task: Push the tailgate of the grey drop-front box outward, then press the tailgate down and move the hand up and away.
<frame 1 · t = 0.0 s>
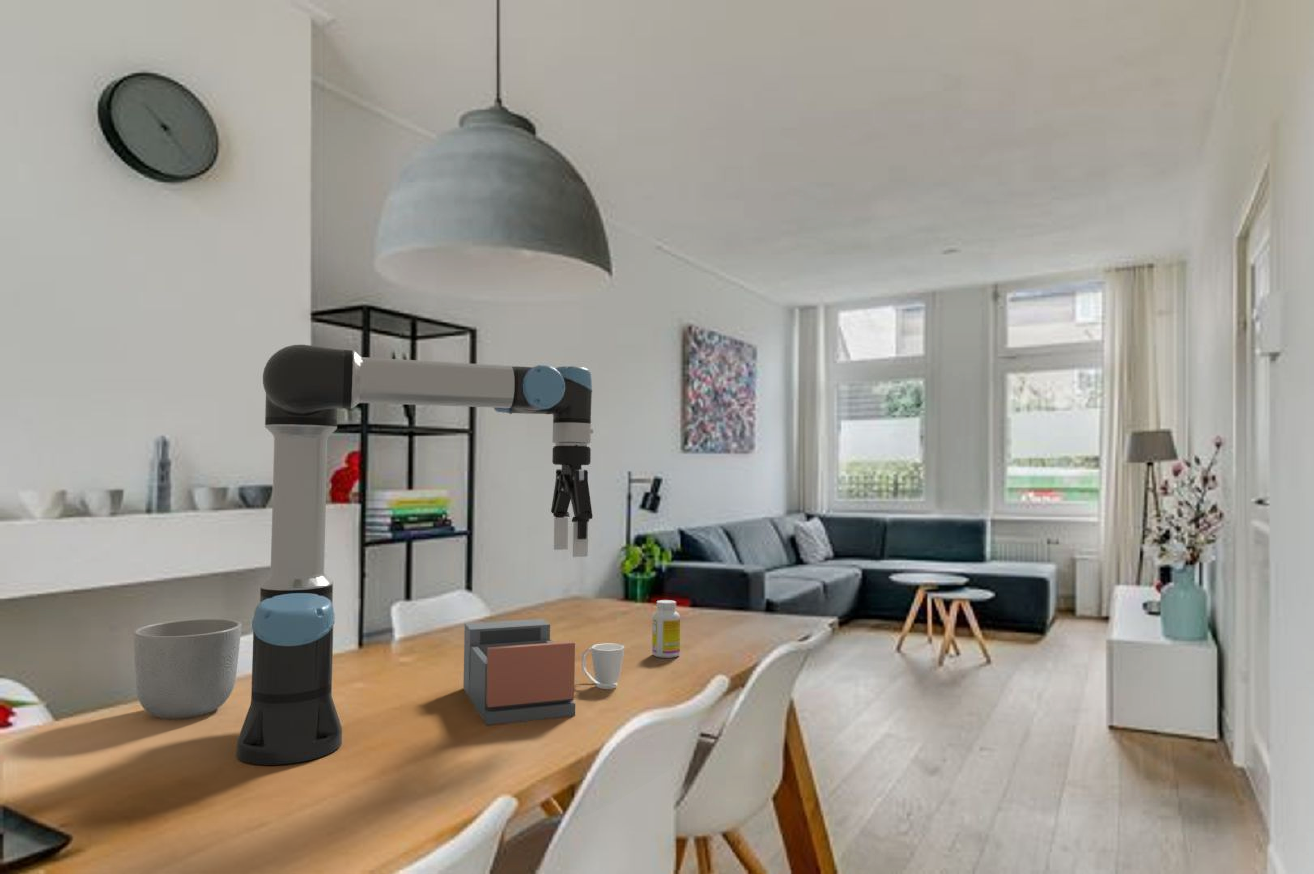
hand: (570, 552, 160), 28 cm above the table, fingers open, 13 cm apart
supplement bottle: (665, 656, 195), on the table
tailgate: (531, 674, 145), point 8 cm above the table, hinge at 0.0°
grey drop-front box: (529, 716, 146), on the table
planter: (186, 713, 146), on the table
grey box shell: (506, 688, 164), on the table
cup: (601, 685, 168), on the table
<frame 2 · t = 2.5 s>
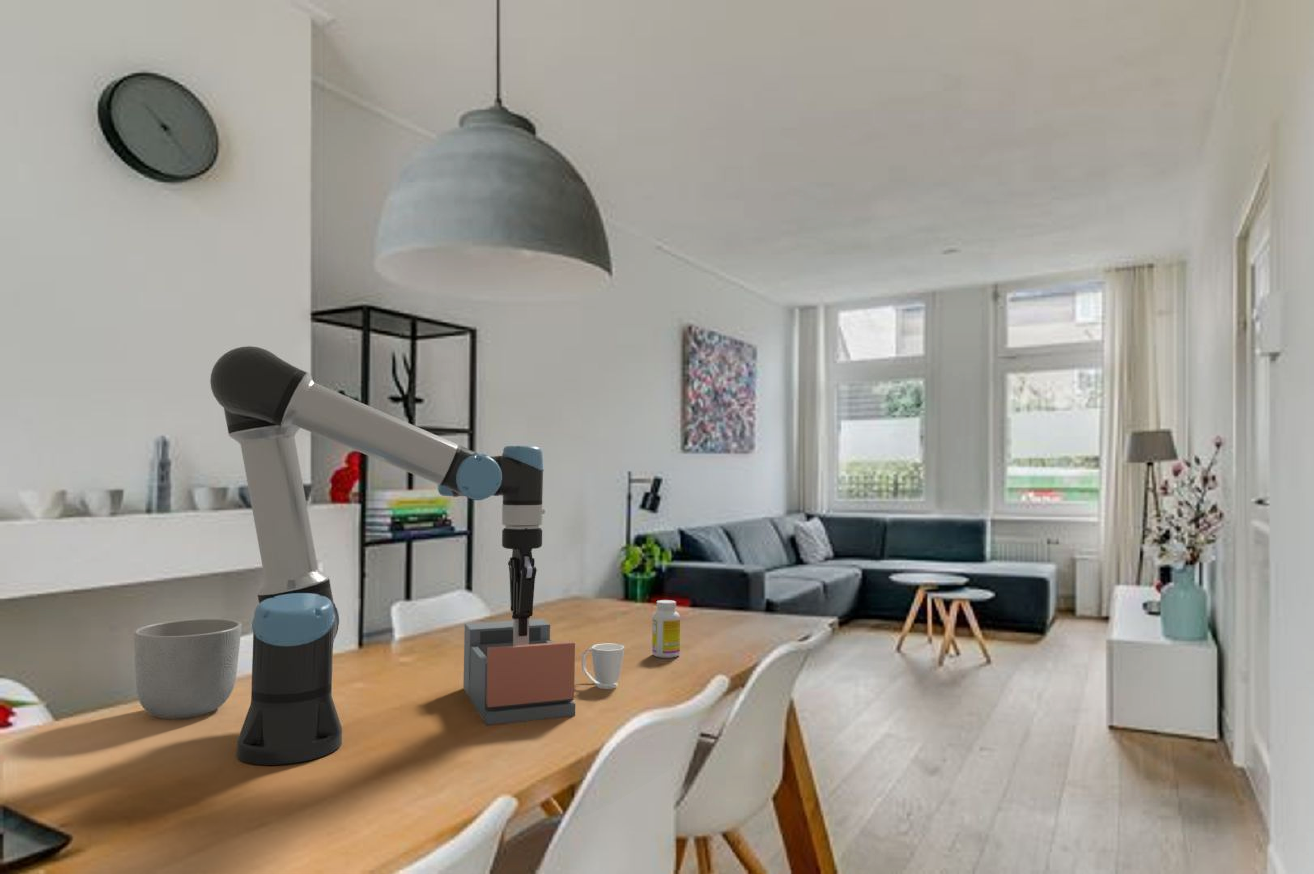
hand: (520, 651, 154), 10 cm above the table, fingers closed
nothing on the table moved.
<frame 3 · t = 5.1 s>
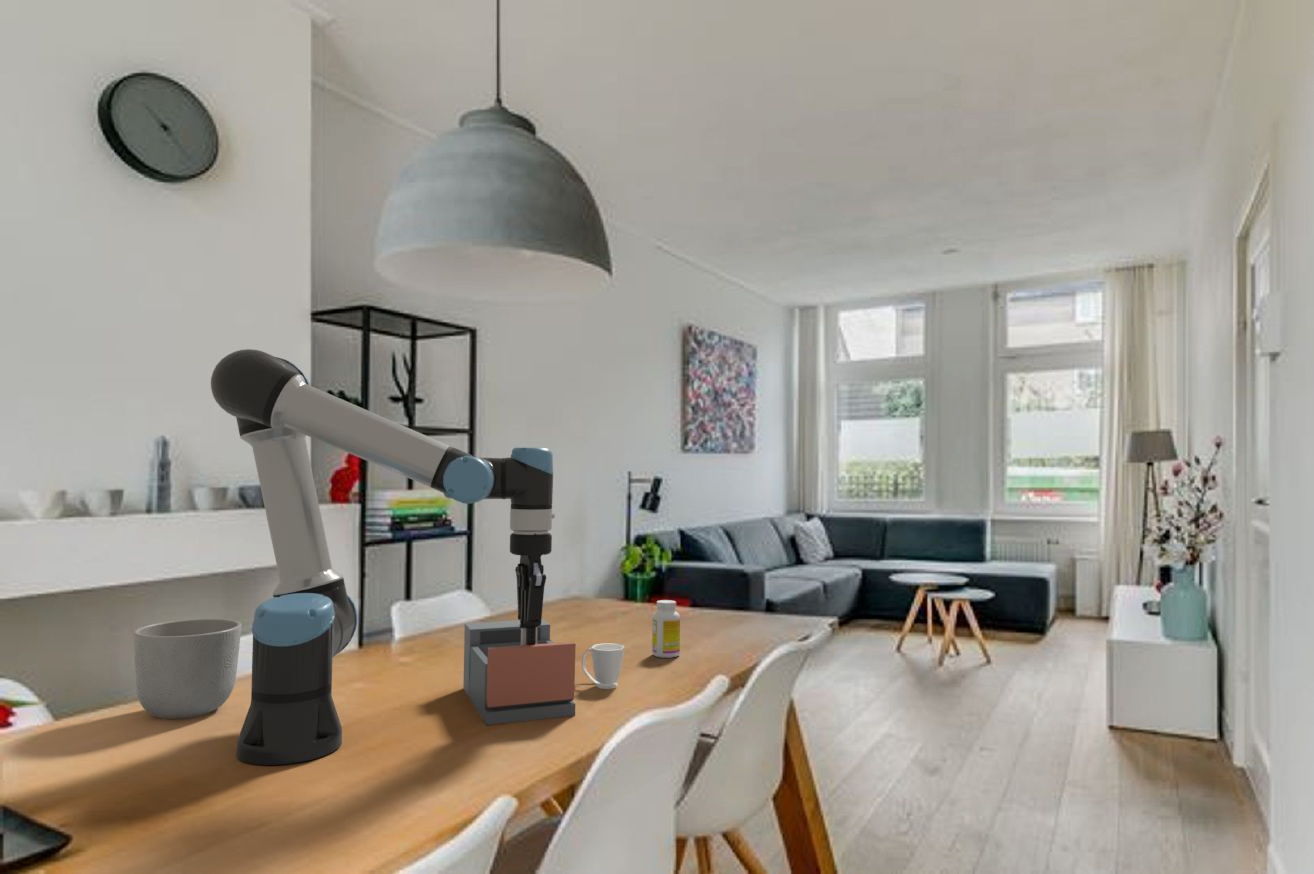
hand: (528, 662, 147), 9 cm above the table, fingers closed
tailgate: (531, 674, 145), point 8 cm above the table, hinge at 2.3°, touching gripper
everything else where it was.
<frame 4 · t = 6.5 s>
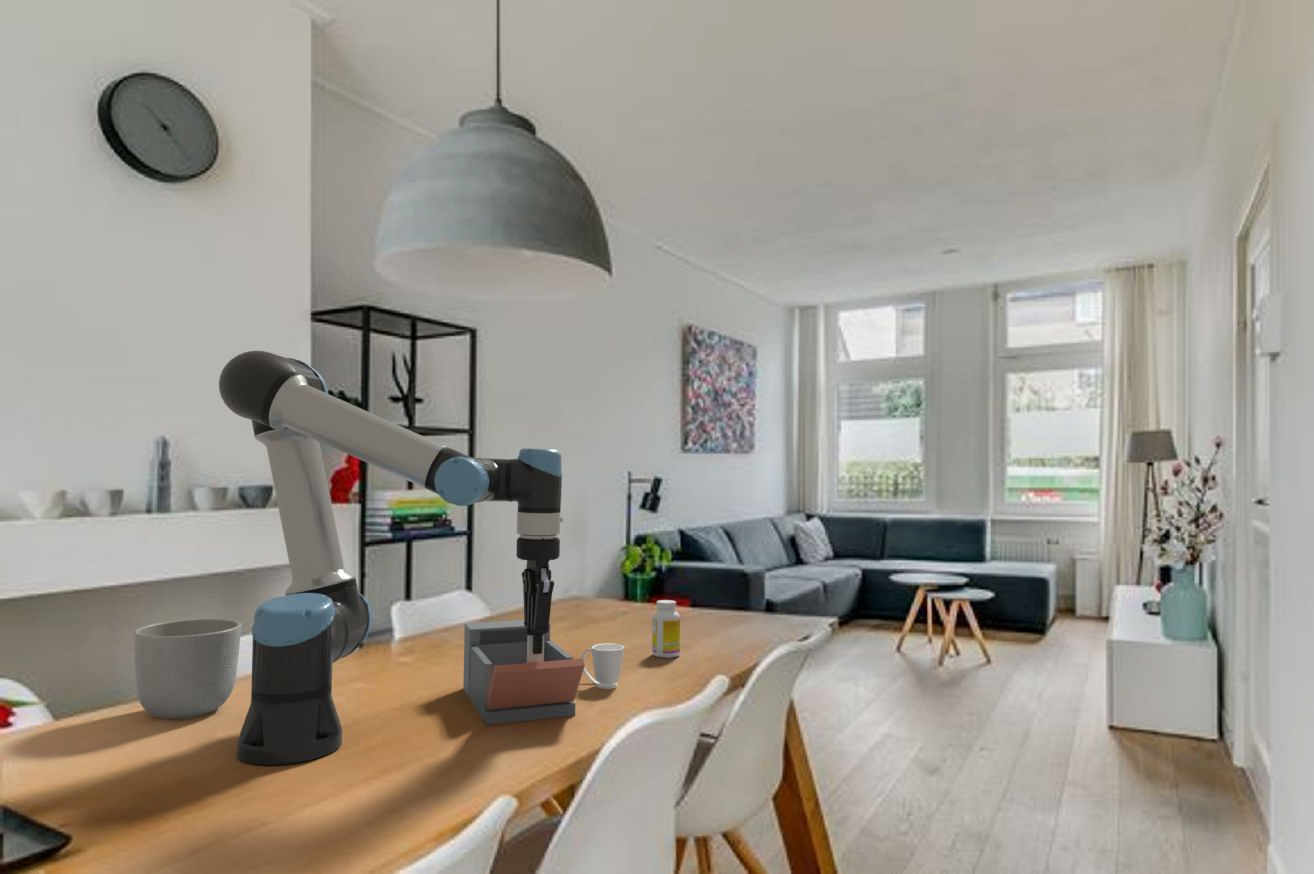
hand: (534, 670, 142), 9 cm above the table, fingers closed
tailgate: (535, 684, 143), point 7 cm above the table, hinge at 38.6°, touching gripper
everything else where it was.
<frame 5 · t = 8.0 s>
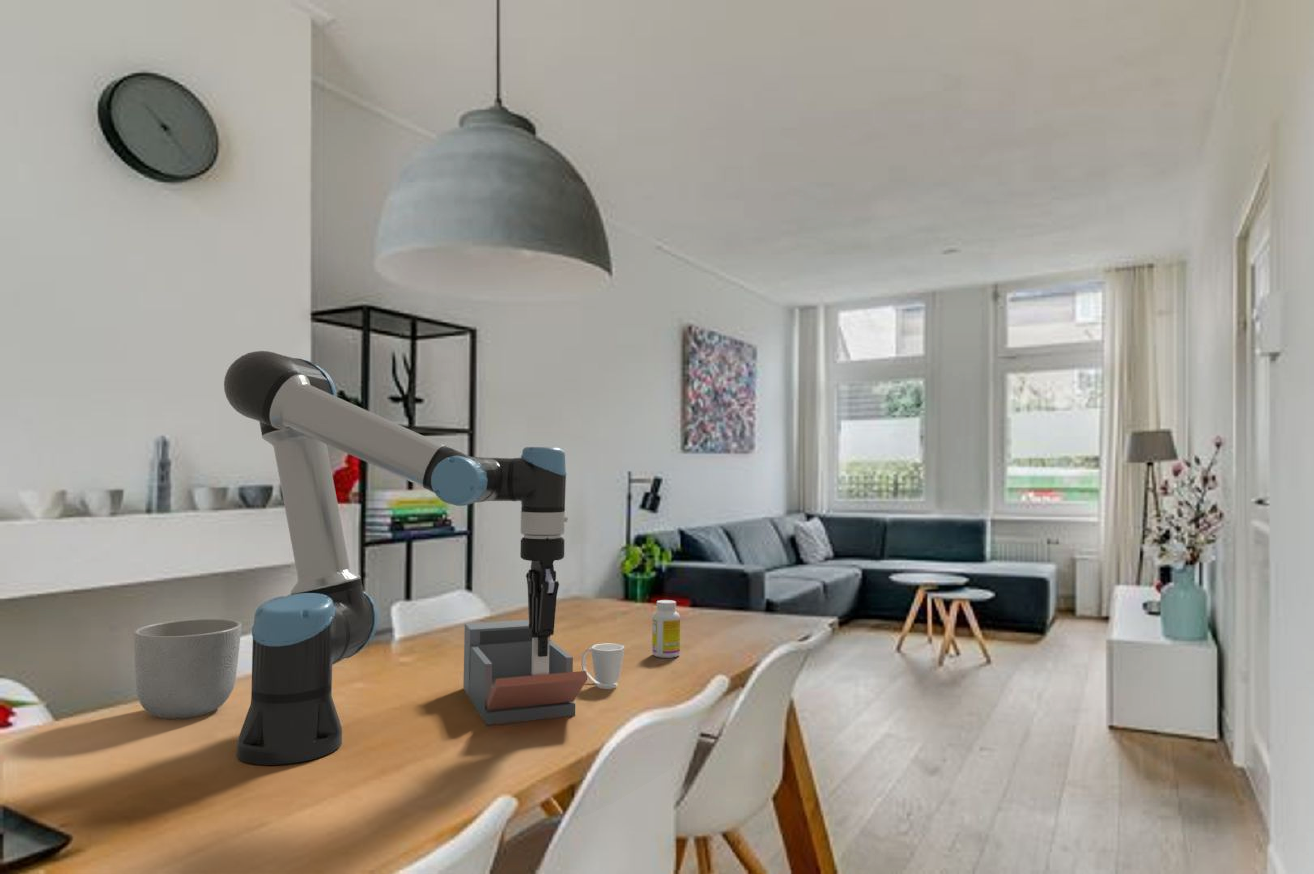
hand: (540, 673, 140), 9 cm above the table, fingers closed
tailgate: (536, 691, 142), point 6 cm above the table, hinge at 53.4°, touching gripper
everything else where it was.
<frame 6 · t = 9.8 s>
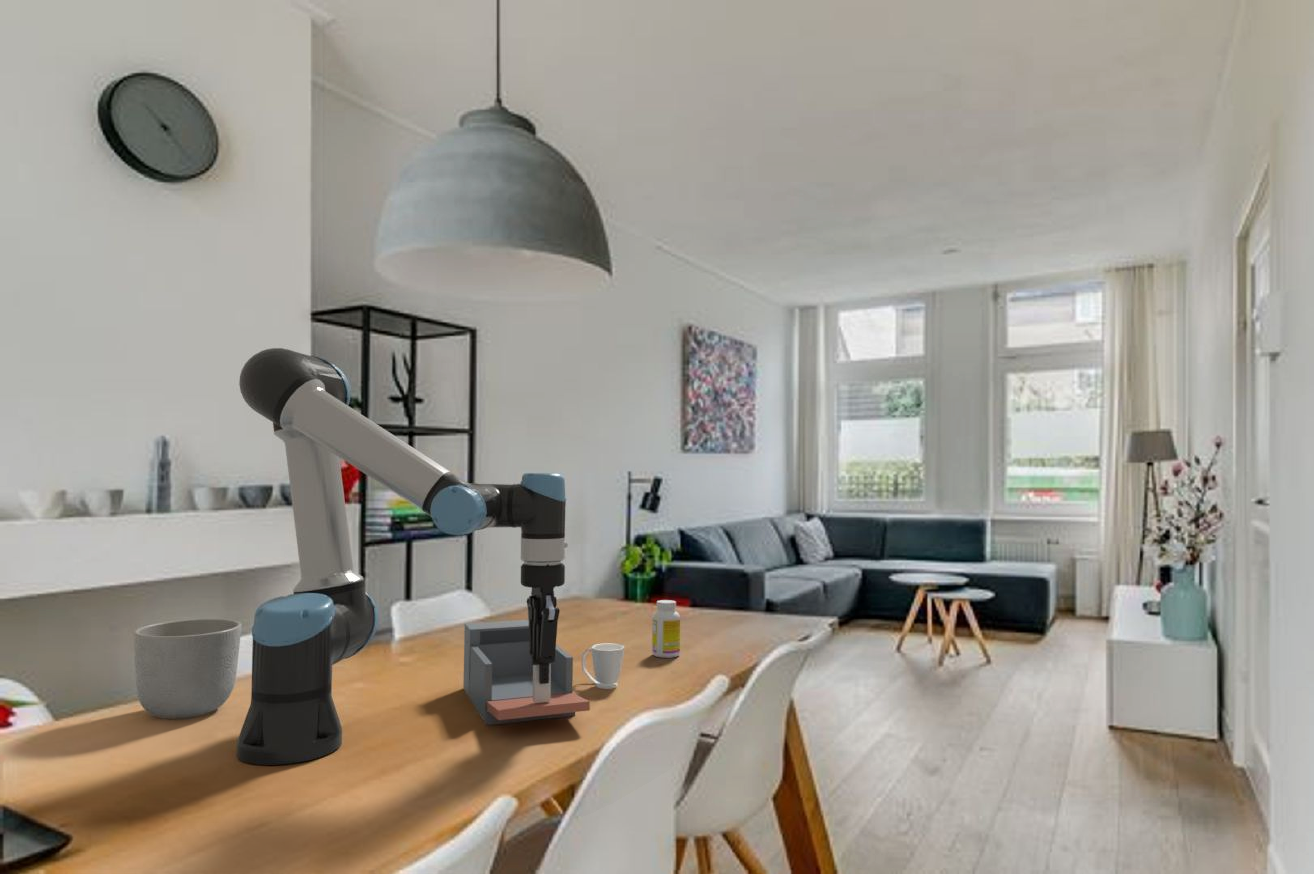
hand: (541, 700, 139), 5 cm above the table, fingers closed
tailgate: (537, 705, 141), point 4 cm above the table, hinge at 83.2°, touching gripper
everything else where it was.
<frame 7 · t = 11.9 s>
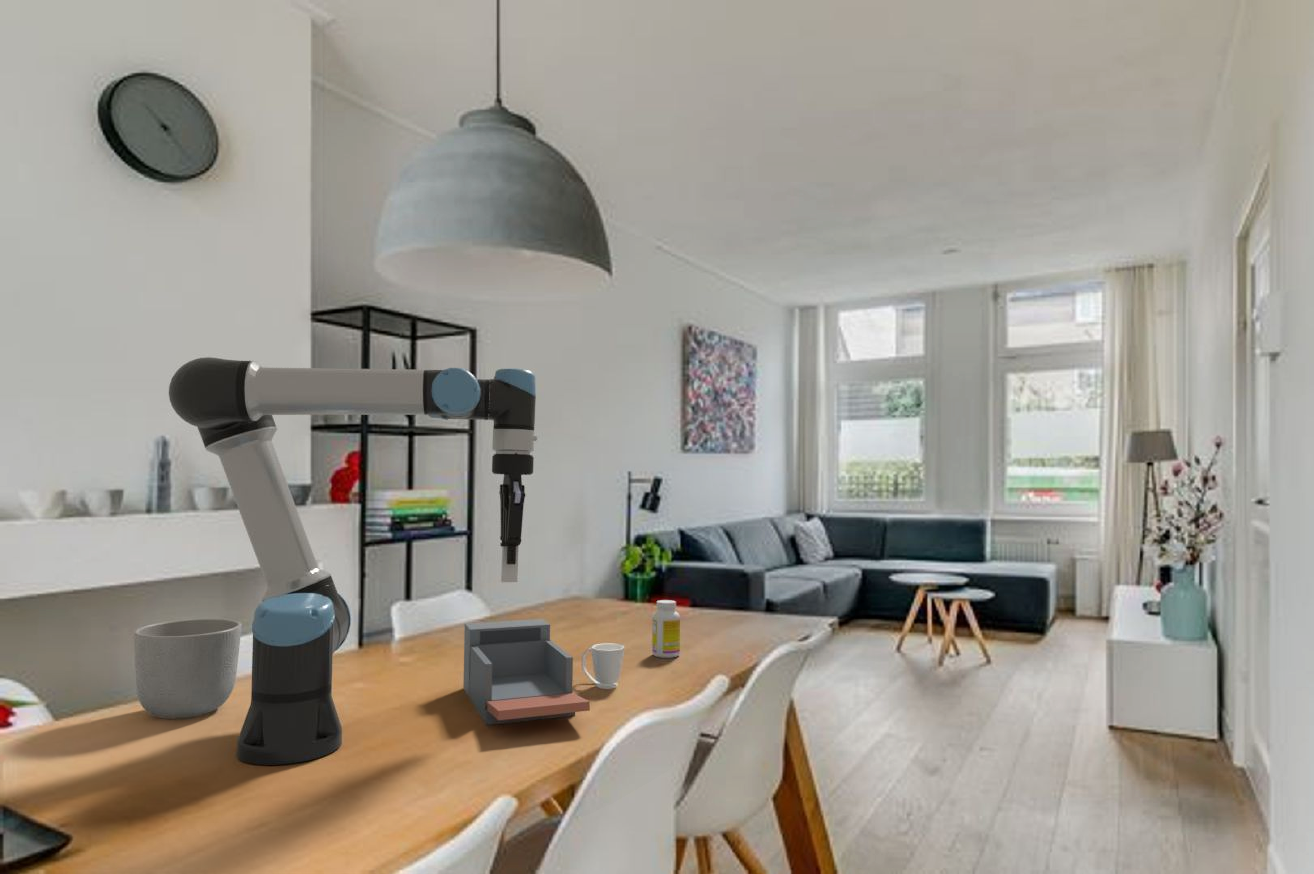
hand: (509, 581, 149), 24 cm above the table, fingers closed
tailgate: (537, 705, 141), point 4 cm above the table, hinge at 83.3°
everything else where it was.
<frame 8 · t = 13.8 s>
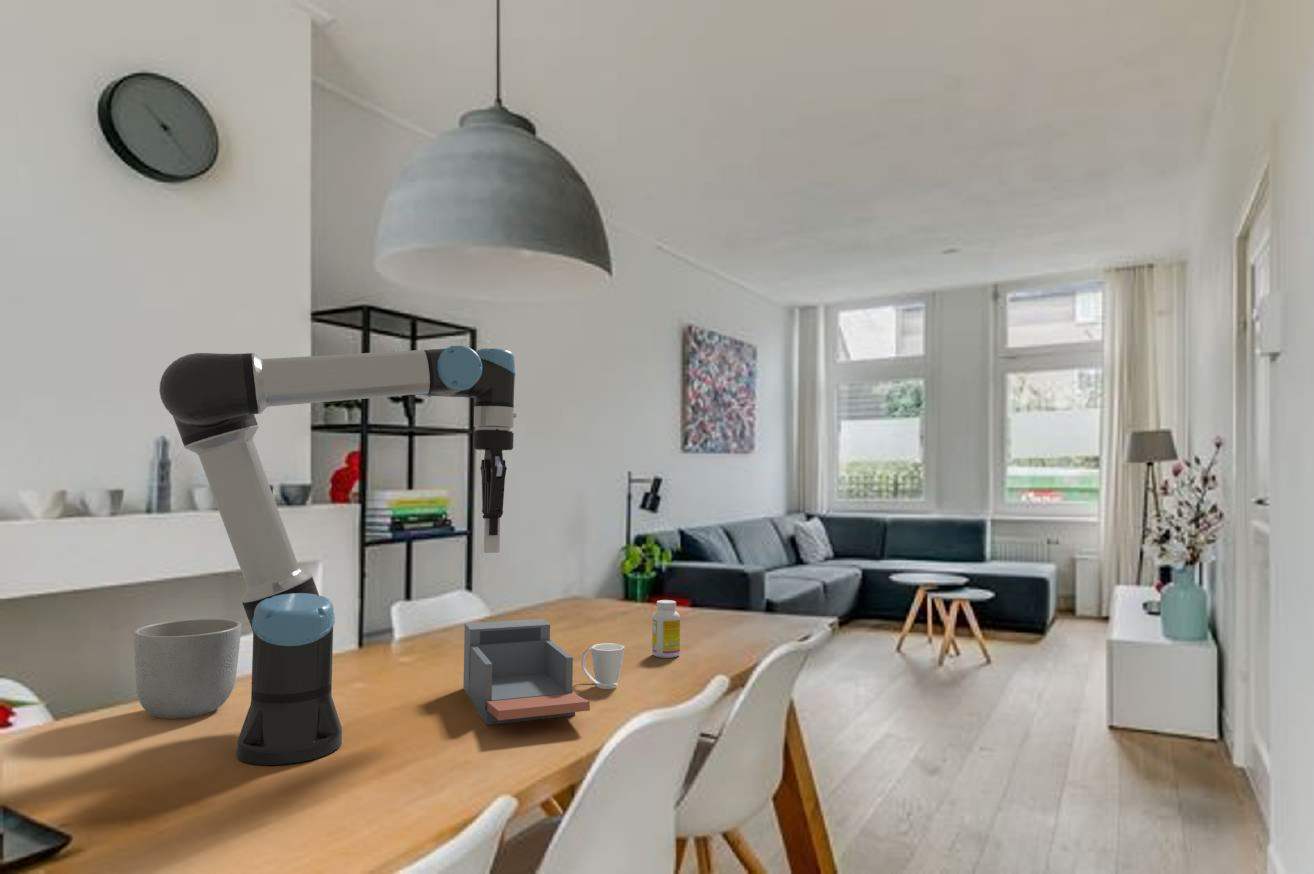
hand: (491, 552, 156), 28 cm above the table, fingers closed
nothing on the table moved.
at the end: tailgate at +83° (first picture: +0°) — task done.
